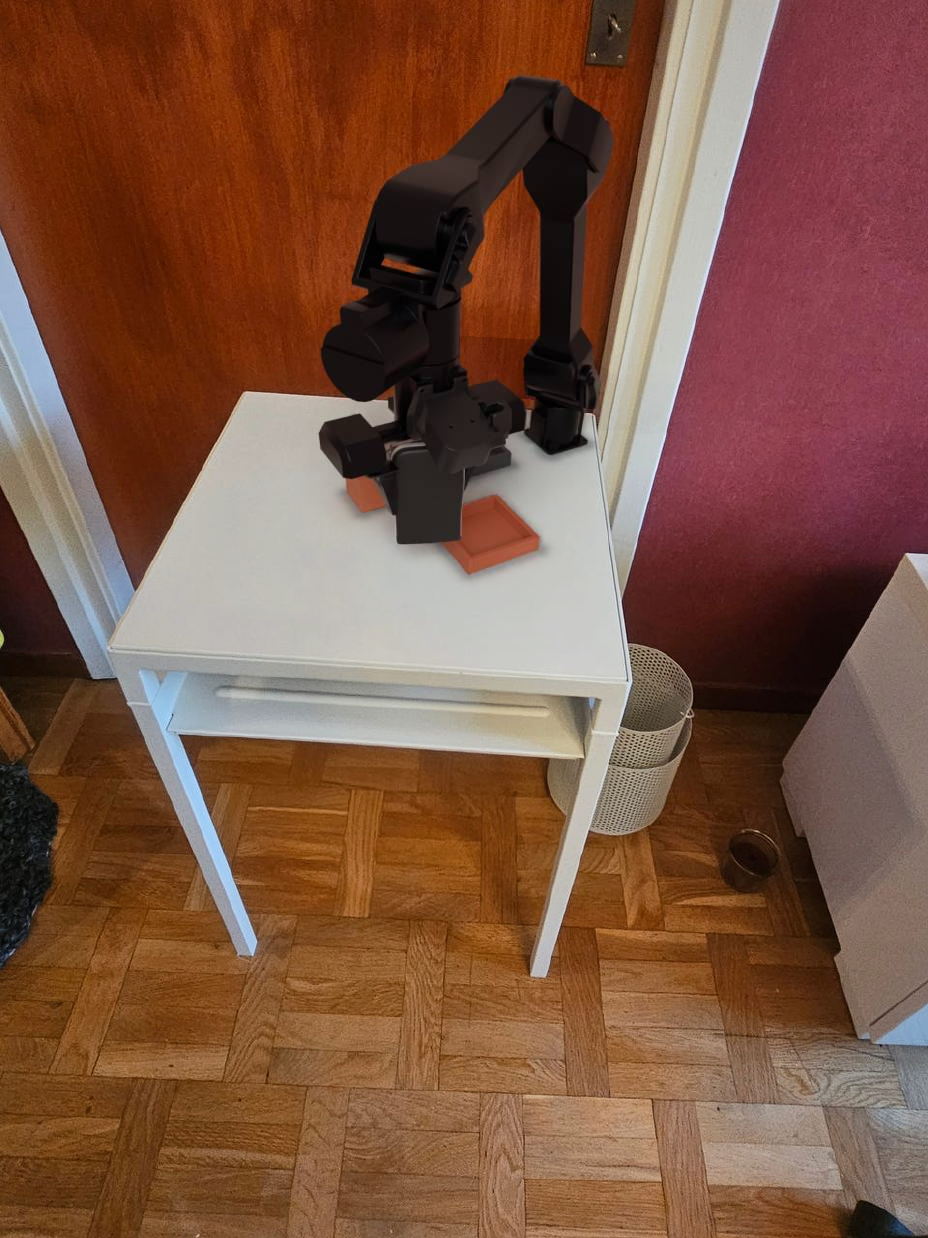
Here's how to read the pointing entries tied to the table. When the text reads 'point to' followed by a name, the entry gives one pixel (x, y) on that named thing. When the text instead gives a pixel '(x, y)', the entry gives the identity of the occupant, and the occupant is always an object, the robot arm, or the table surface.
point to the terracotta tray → (490, 535)
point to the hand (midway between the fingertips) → (426, 502)
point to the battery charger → (425, 497)
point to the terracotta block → (364, 493)
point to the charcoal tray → (495, 460)
